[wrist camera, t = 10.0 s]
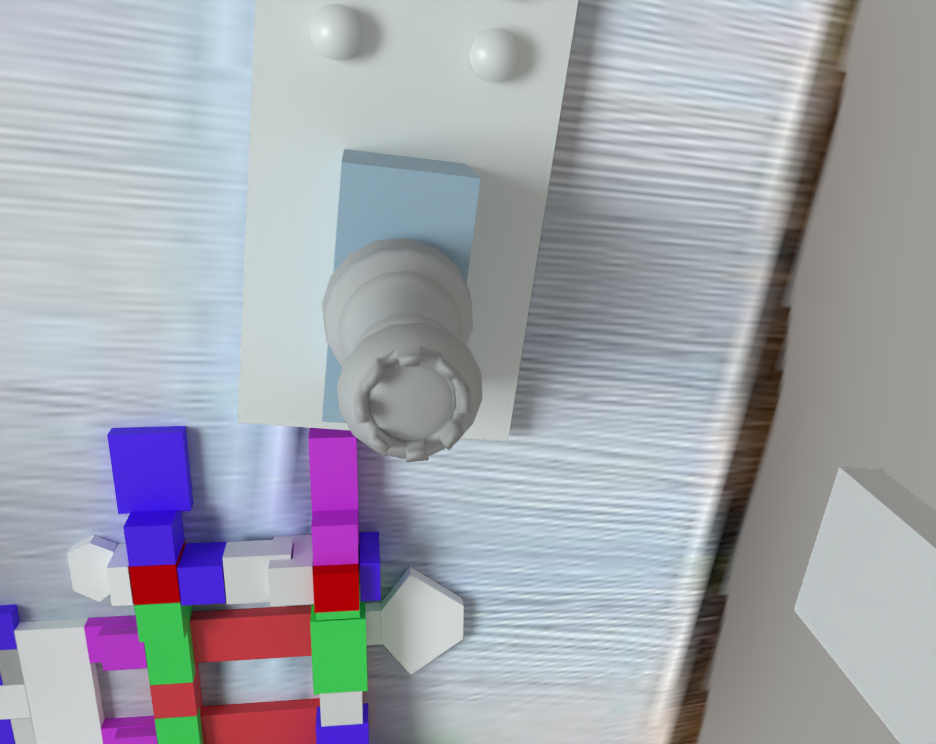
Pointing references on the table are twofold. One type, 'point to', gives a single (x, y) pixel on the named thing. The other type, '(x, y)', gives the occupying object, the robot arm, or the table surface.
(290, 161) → the build plate
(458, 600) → the building block set
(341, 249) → the blue brick
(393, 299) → the rook chess piece
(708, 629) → the table surface
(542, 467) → the table surface
